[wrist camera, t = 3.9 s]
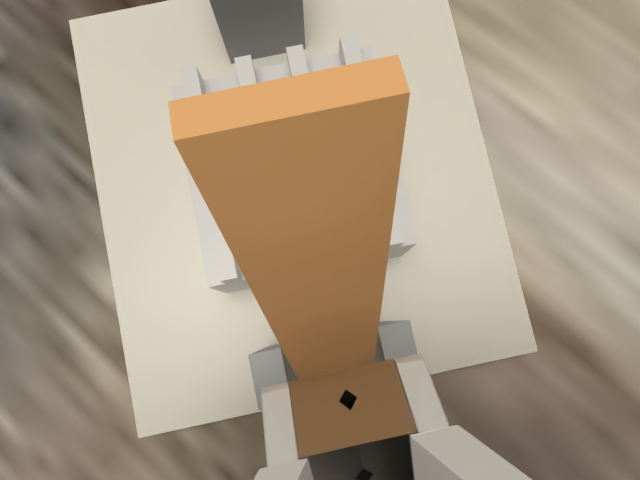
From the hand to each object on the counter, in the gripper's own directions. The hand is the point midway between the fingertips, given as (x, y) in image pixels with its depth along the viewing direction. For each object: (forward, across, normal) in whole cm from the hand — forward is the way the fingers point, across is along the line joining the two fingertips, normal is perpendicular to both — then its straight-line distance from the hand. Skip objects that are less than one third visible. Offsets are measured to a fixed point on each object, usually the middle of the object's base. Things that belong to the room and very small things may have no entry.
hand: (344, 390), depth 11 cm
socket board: (+21, 0, +8) cm, 22 cm away
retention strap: (+5, 0, +2) cm, 5 cm away
